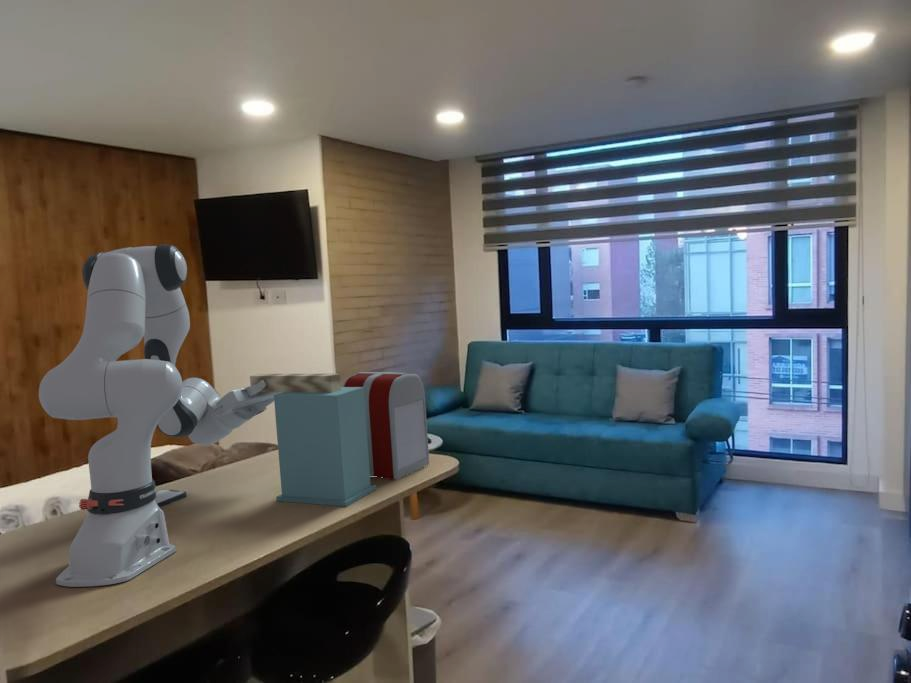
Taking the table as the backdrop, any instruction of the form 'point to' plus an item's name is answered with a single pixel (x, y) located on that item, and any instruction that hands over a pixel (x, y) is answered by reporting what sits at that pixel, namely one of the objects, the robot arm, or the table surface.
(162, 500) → the phone case
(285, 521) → the table surface
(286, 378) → the rail
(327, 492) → the tall teal upright box
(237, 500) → the table surface
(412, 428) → the red striped toaster
